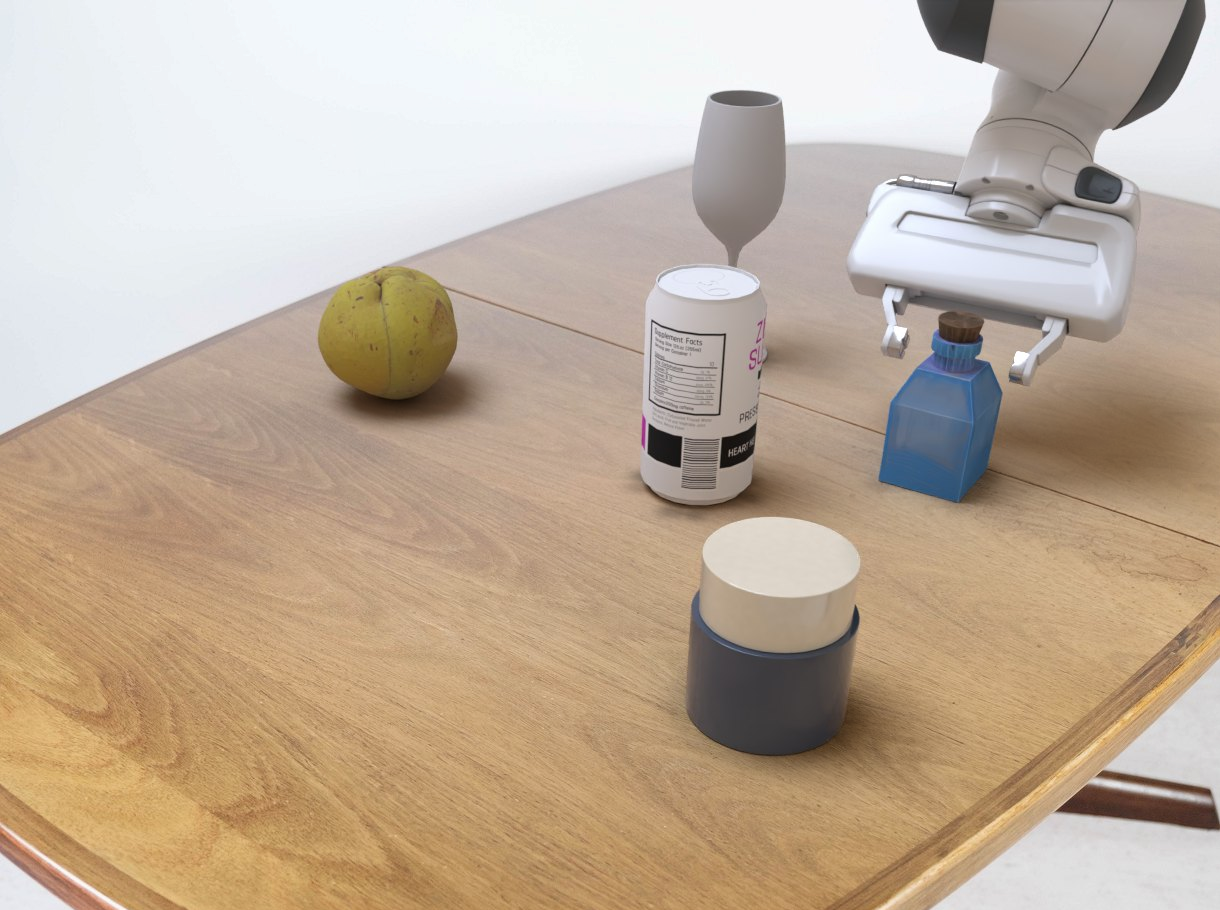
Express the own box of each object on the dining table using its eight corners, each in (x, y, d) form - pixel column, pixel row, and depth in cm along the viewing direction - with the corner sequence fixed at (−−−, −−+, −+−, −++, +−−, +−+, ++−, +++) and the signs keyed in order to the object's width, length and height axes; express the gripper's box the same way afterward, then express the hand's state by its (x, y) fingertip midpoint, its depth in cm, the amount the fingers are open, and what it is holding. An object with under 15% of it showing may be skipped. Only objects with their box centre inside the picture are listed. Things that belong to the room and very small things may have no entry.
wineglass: (784, 363, 117) (809, 105, 104) (705, 375, 114) (721, 113, 101) (745, 332, 122) (765, 84, 109) (669, 343, 120) (681, 91, 107)
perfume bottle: (986, 470, 101) (1018, 315, 94) (957, 502, 97) (989, 343, 89) (909, 449, 103) (935, 297, 96) (878, 480, 99) (902, 323, 92)
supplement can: (624, 467, 100) (628, 268, 91) (723, 451, 103) (738, 255, 94) (665, 517, 94) (674, 309, 85) (770, 498, 97) (790, 294, 88)
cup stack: (852, 672, 79) (875, 524, 73) (836, 767, 72) (860, 612, 66) (701, 650, 81) (711, 503, 75) (670, 740, 74) (679, 586, 68)
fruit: (493, 395, 110) (488, 275, 104) (375, 436, 104) (363, 310, 98) (413, 355, 117) (404, 240, 111) (298, 391, 110) (282, 270, 104)
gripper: (875, 146, 97) (810, 318, 96) (1163, 190, 90) (1096, 378, 89) (887, 194, 103) (826, 357, 102) (1158, 239, 96) (1095, 416, 95)
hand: (953, 367), depth 96 cm, fingers open, 8 cm apart
